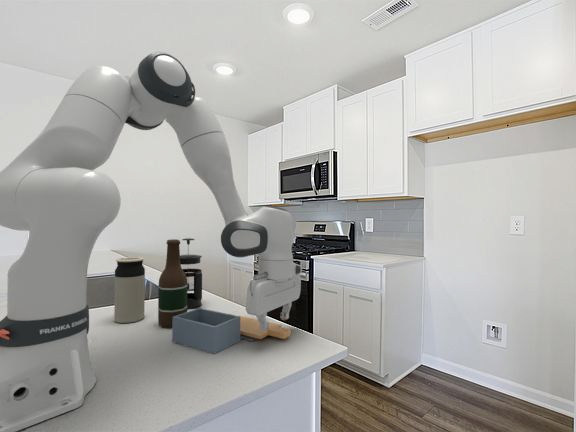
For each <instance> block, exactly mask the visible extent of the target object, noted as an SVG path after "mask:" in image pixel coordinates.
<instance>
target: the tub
mask: <svg viewBox="0 0 576 432" xmlns="http://www.w3.org/2000/svg"><path fill="white" fill-rule="evenodd" d="M240 316H241V315H235V314H231V313H225V312H222V311H221V312H220V311H216V310H211V309H207V308H201V307H198V308H195V309H191V310H190V311H187V312H186V313H183V314H180V315H177V316H174V317H173V320H172V328H171V329H172V334H171V335H172V336H171V338H172V339H171V341H172V343H177V344H180V345H184V346H187V347H190V348H193V349H197V350H200V351H203V352H206V353H210V354H214V355H216V354H217V353H219V352H222V351H223V350H225V349H227V348H229V347H231V346H233V345H235V344H236V343H238V342H240V341H241V339H240Z"/></svg>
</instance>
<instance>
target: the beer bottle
mask: <svg viewBox="0 0 576 432" xmlns="http://www.w3.org/2000/svg"><path fill="white" fill-rule="evenodd" d="M165 244H166V245H167V246H166V248H167V249H166V261H165V268H164V270H163V271H162V272H161V273H160V276H159V278H158V289H157V290H158V293H157V297H158V298H157V299H158V302H157V305H158V306H157V309H158V310H157V311H158V312H157V314H158V315H157V319H158V320H157V321H158V325H159V327H161V328H162V329H172V320H173V317H174V316H177V315H180V314H183V313H186V312H188V310H187V293H188V291H187V281H188V277H186V274H185V272H184V271H183V270H182V269H183V268H182V264H181V263H180V255H181V253H180V252H181V249H180V244H181V240H180V239H174V238H173V239H168V240H166V243H165Z"/></svg>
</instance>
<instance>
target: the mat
mask: <svg viewBox="0 0 576 432" xmlns="http://www.w3.org/2000/svg"><path fill="white" fill-rule="evenodd" d="M240 340H243V341H247V342H252V343H253V342H255V341H257V340H259V339H258V338H254V337H250V336H246V335H242V334H240Z"/></svg>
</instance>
